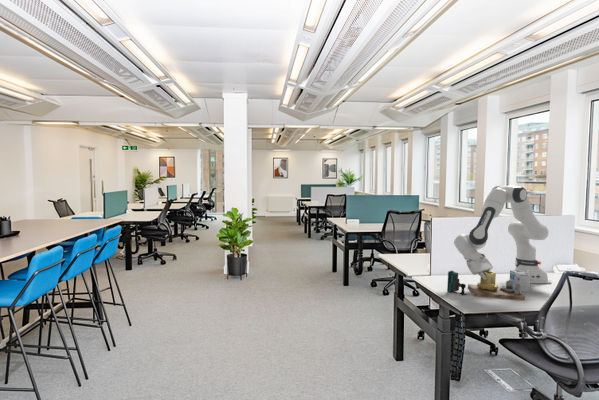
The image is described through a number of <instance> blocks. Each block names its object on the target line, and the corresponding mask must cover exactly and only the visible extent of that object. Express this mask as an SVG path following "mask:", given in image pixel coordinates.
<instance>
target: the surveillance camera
mask: <svg viewBox="0 0 599 400" xmlns="http://www.w3.org/2000/svg"><path fill="white" fill-rule="evenodd" d="M460 288H461V291H460ZM465 289H466V283H460V279H459V273H458V272H455V271H454V270H449V271H447V289H446V292H448V293H449V292H451V291H452V292H459V291H460V292H459V293H458V295H459V296H460V295H461V296H467V295H468V293H465Z"/></svg>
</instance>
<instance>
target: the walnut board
mask: <svg viewBox="0 0 599 400" xmlns="http://www.w3.org/2000/svg"><path fill="white" fill-rule="evenodd" d="M500 287H501V286H498V289H497V290H495V289H493V290H489V289H482V288H480V287H477V284H471V283H470V284H467V288H468V289H469V290H470V292H471V293H472V294H473V295H474V296H475V297H479V298H493V299H505V300H506V299H507V300H518V301H525V300H526V297H525V295H523V294H522V293H521V292H522V291H521V284H515V291H514V293H507V292H505V291H501V290H500Z"/></svg>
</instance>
